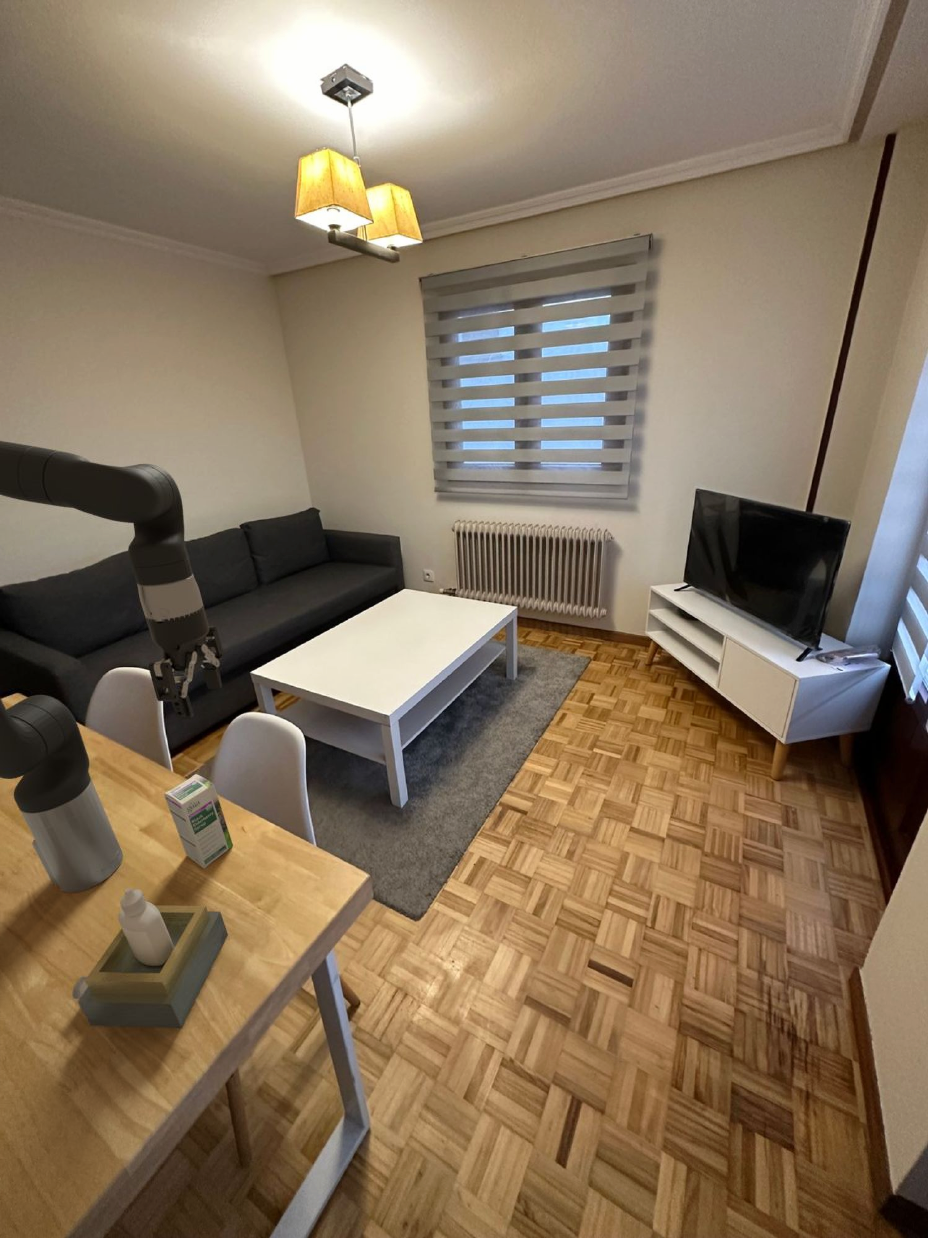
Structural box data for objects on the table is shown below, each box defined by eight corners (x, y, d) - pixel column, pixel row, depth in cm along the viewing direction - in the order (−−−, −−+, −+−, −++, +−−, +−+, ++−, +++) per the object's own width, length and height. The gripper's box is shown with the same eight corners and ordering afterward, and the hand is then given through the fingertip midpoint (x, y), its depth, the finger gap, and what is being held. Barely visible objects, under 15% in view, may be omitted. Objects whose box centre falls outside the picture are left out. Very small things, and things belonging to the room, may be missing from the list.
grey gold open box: (68, 1025, 62) (47, 988, 59) (131, 933, 73) (116, 898, 70) (181, 1028, 61) (165, 991, 58) (228, 934, 72) (216, 899, 69)
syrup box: (204, 870, 83) (182, 805, 77) (185, 855, 86) (162, 792, 80) (233, 846, 87) (215, 783, 81) (214, 833, 90) (195, 772, 84)
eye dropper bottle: (139, 980, 62) (110, 917, 57) (132, 947, 66) (104, 885, 61) (177, 957, 64) (151, 894, 60) (168, 926, 68) (143, 865, 64)
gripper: (178, 591, 77) (202, 680, 83) (115, 627, 64) (150, 729, 70) (223, 591, 76) (244, 679, 83) (169, 626, 63) (199, 728, 70)
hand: (201, 702), depth 76 cm, fingers open, 8 cm apart
